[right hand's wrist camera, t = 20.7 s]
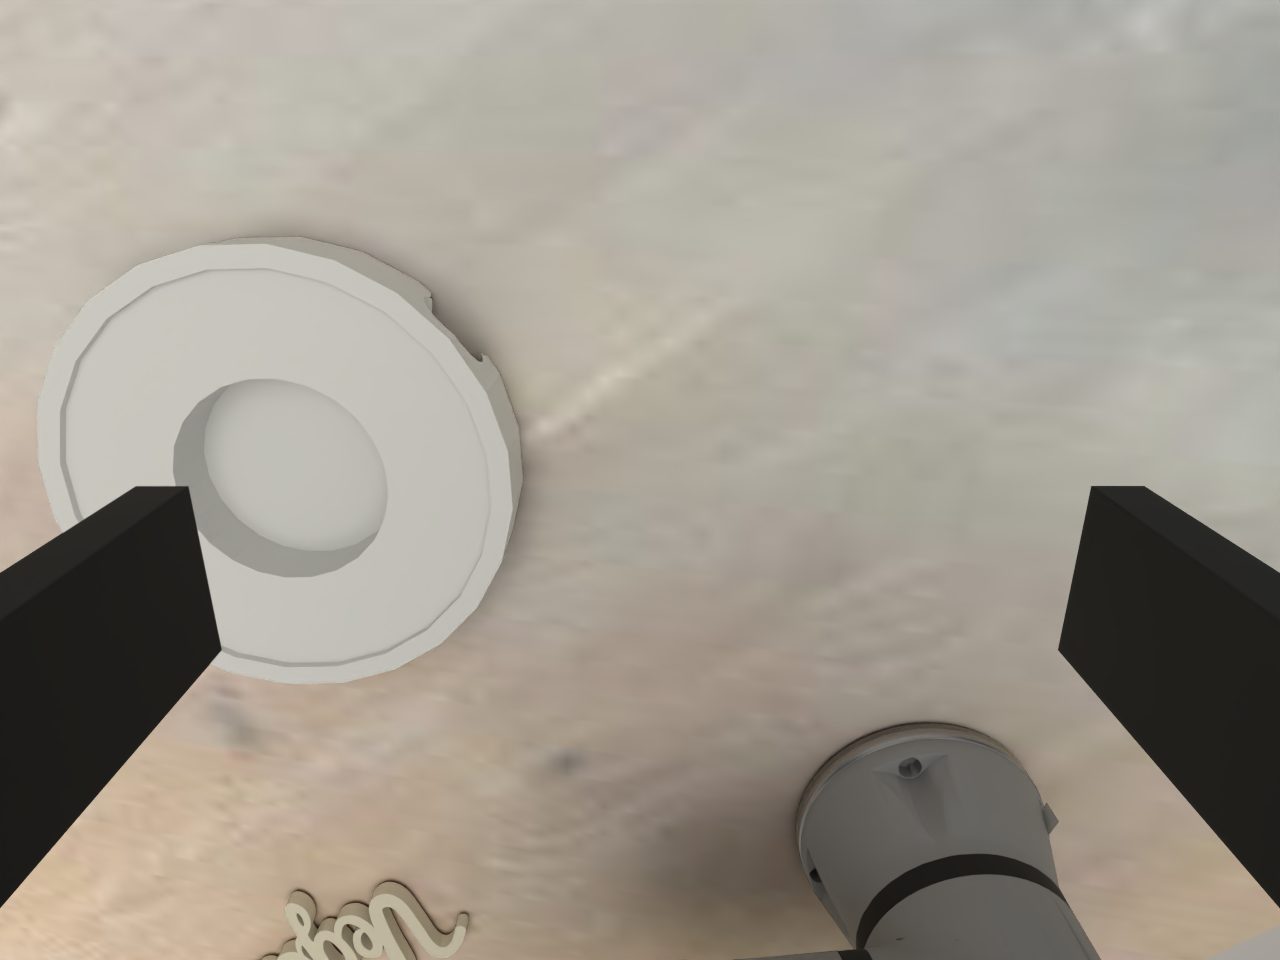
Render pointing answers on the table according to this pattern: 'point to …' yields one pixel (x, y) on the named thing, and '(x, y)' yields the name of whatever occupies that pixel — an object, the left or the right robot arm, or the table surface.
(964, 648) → the table surface
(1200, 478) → the table surface
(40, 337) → the table surface
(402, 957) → the decorative sign
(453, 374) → the ashtray
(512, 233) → the table surface
